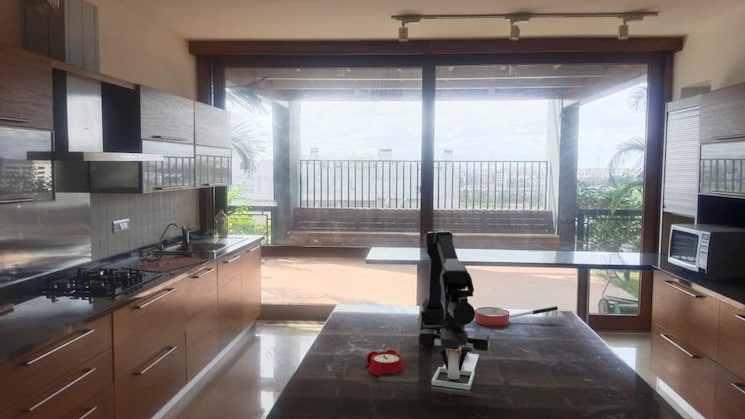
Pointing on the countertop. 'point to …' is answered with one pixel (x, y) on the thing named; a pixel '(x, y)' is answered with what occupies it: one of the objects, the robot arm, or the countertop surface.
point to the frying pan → (501, 315)
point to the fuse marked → (453, 363)
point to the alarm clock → (384, 362)
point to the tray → (453, 384)
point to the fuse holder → (468, 361)
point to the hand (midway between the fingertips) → (453, 369)
